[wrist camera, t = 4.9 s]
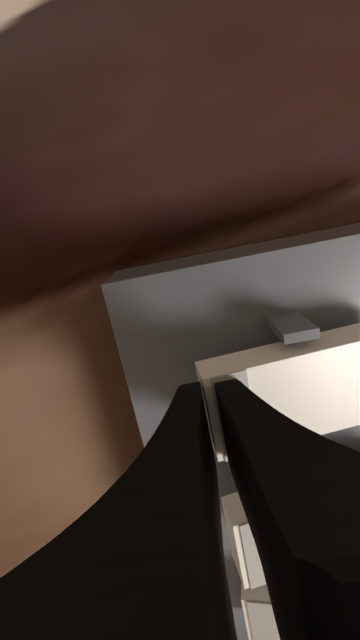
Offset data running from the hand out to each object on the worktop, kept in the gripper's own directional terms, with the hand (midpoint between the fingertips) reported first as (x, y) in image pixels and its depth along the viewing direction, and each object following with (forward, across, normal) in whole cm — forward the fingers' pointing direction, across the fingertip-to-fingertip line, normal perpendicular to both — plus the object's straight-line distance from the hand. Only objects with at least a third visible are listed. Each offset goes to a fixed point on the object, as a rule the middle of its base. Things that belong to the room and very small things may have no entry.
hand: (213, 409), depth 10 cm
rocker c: (0, -3, 0) cm, 3 cm away
